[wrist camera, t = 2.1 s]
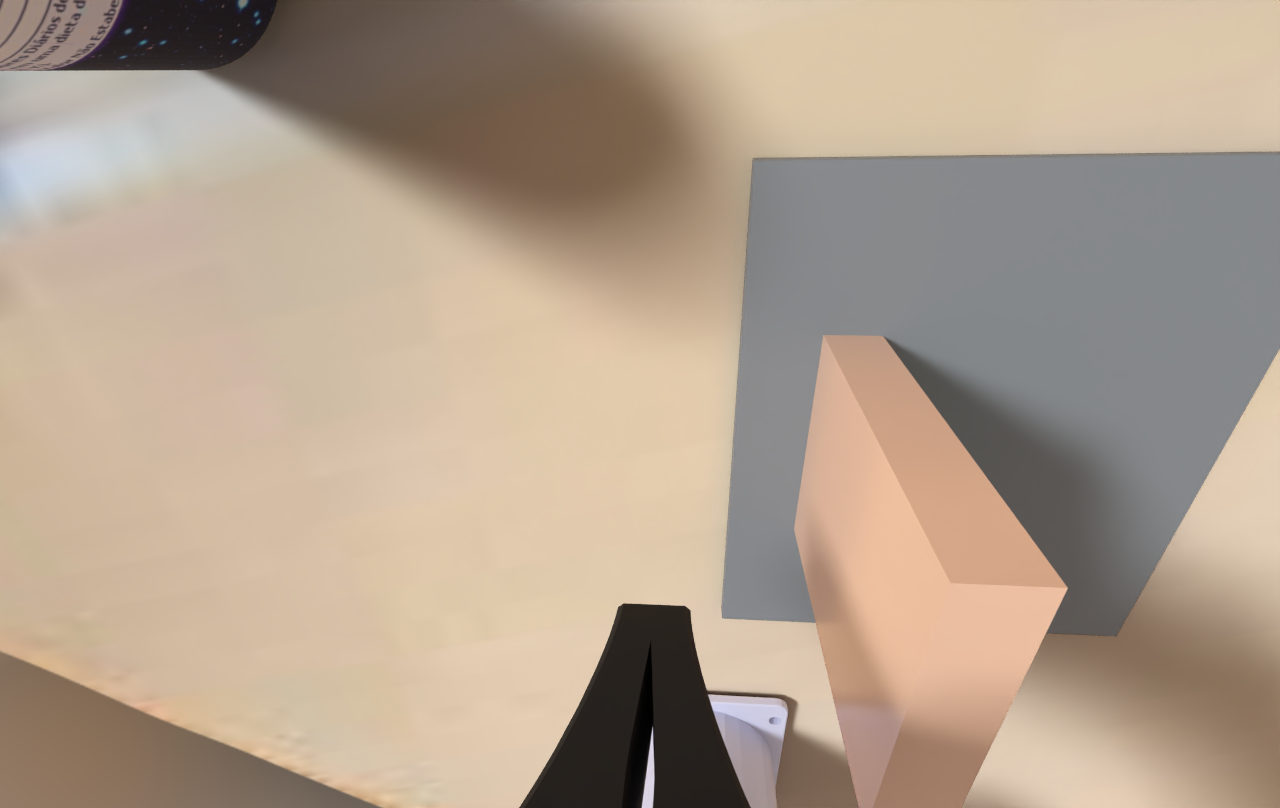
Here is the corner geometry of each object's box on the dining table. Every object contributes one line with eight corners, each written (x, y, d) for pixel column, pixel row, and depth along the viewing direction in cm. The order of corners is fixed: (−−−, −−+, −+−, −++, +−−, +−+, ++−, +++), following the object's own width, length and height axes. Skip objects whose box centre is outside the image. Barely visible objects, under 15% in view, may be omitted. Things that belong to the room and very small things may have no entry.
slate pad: (1107, 624, 21) (1116, 636, 21) (721, 608, 22) (722, 618, 22) (1367, 150, 14) (1390, 153, 13) (752, 158, 15) (754, 161, 14)
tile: (848, 530, 20) (956, 838, 12) (793, 528, 20) (864, 831, 12) (890, 335, 16) (1083, 588, 8) (823, 335, 16) (950, 583, 8)
